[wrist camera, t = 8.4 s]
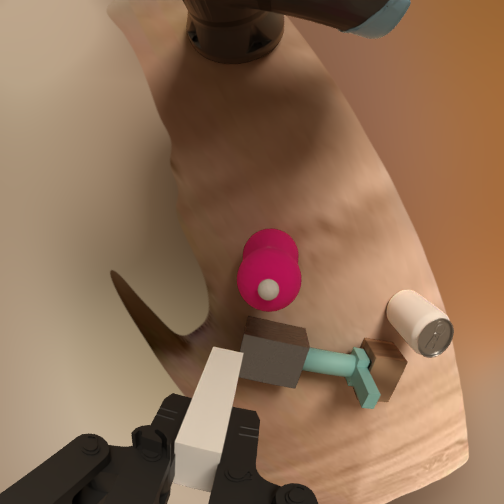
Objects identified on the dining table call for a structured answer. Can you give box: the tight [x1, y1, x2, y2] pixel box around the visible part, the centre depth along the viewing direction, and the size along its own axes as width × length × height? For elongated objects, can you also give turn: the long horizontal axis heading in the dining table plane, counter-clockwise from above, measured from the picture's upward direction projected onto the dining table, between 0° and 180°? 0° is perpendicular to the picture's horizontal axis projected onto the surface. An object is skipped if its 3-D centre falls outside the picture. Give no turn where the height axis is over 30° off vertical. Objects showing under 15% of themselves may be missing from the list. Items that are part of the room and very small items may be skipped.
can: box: [386, 290, 454, 358], centre depth 38 cm, size 6×6×12 cm
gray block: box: [239, 316, 310, 388], centre depth 43 cm, size 7×9×7 cm
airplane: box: [302, 347, 381, 409], centre depth 39 cm, size 16×5×11 cm, turn 77°
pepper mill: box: [237, 229, 301, 312], centre depth 34 cm, size 7×7×20 cm
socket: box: [353, 338, 407, 402], centre depth 43 cm, size 8×6×7 cm
